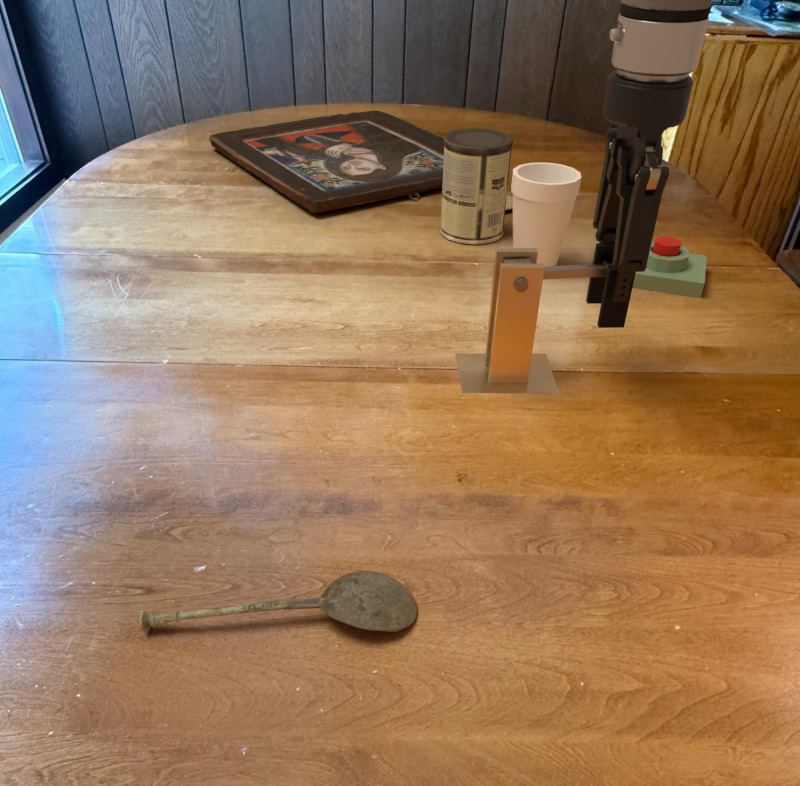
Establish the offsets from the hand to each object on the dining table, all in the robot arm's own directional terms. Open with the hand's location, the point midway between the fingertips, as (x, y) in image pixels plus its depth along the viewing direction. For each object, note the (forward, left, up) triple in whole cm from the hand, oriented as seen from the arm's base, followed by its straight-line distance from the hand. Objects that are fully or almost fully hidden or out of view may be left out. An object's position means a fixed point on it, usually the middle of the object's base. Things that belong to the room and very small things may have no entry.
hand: (604, 313), depth 85 cm
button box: (-5, -33, -9) cm, 34 cm away
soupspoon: (+19, +46, -9) cm, 50 cm away
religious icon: (+55, -65, -9) cm, 85 cm away
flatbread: (+24, -53, -9) cm, 58 cm away
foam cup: (+13, -31, -9) cm, 34 cm away
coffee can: (+25, -40, -9) cm, 47 cm away
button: (-5, -32, -5) cm, 33 cm away
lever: (+5, +2, +3) cm, 6 cm away
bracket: (+10, +4, -9) cm, 13 cm away
